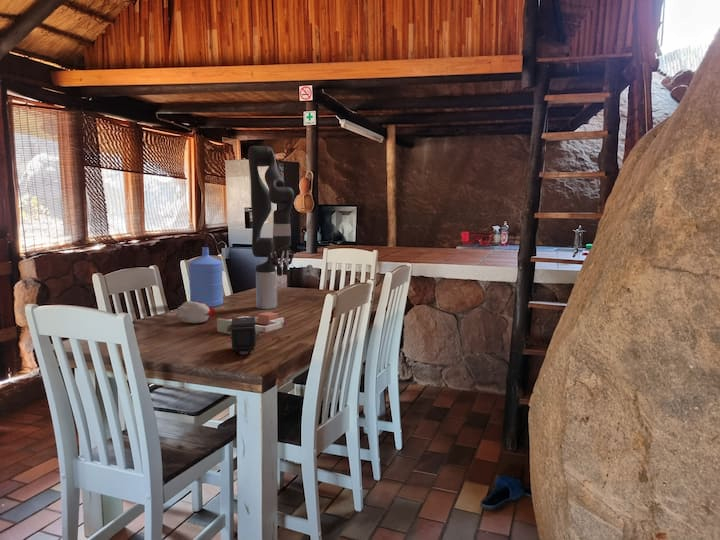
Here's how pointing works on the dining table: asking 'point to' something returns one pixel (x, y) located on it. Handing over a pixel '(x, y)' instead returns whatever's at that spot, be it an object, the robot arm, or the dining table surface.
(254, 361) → the dining table surface
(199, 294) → the water jug
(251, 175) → the robot arm
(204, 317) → the white and red lump
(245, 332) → the camera
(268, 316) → the block
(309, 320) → the dining table surface
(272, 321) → the box
